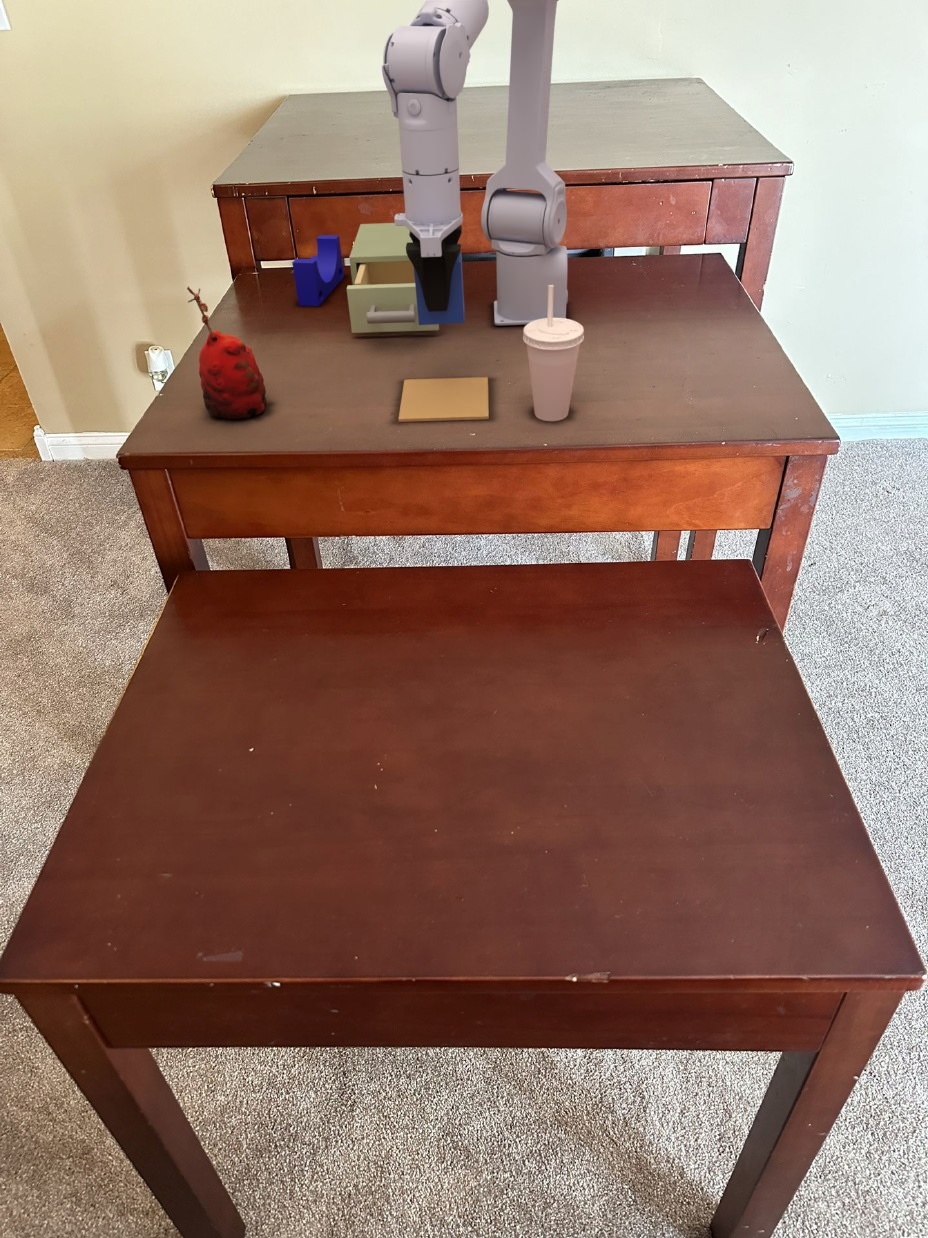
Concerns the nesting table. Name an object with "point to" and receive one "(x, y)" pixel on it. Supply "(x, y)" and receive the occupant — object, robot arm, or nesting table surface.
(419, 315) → the blue rectangular block
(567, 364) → the smoothie
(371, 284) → the drawer
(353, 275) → the cabinet
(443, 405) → the mat
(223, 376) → the red clay folk toy
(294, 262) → the cable clip
